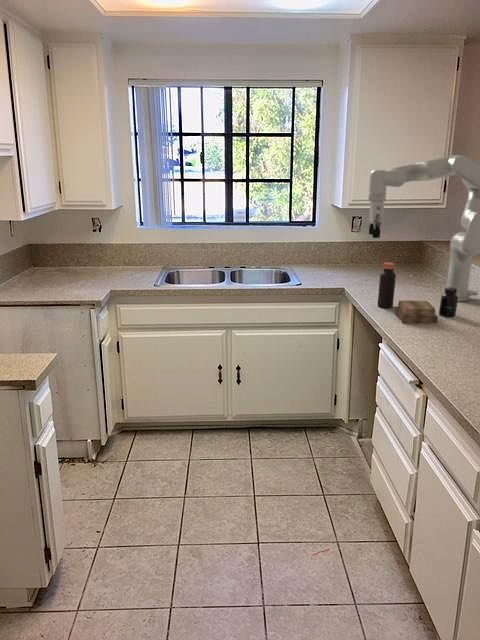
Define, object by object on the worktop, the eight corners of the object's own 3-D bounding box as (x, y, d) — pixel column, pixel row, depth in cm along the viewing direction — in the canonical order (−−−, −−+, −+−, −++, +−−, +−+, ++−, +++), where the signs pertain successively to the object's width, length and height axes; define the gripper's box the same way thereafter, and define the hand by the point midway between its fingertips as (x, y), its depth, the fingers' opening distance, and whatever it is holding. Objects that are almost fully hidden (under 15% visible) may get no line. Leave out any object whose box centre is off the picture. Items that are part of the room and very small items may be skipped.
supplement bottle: (445, 318, 220) (448, 291, 217) (435, 313, 227) (438, 287, 223) (459, 317, 222) (462, 289, 218) (448, 312, 228) (452, 286, 225)
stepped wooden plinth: (427, 313, 227) (428, 300, 225) (436, 323, 213) (438, 309, 211) (394, 313, 227) (395, 299, 225) (402, 323, 214) (403, 309, 212)
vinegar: (382, 309, 233) (386, 265, 227) (374, 304, 239) (378, 262, 233) (395, 307, 235) (400, 264, 228) (387, 303, 241) (391, 261, 235)
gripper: (389, 200, 227) (386, 239, 232) (381, 196, 243) (378, 233, 248) (371, 200, 227) (369, 239, 232) (365, 196, 243) (362, 233, 249)
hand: (374, 236), depth 240 cm, fingers open, 9 cm apart
